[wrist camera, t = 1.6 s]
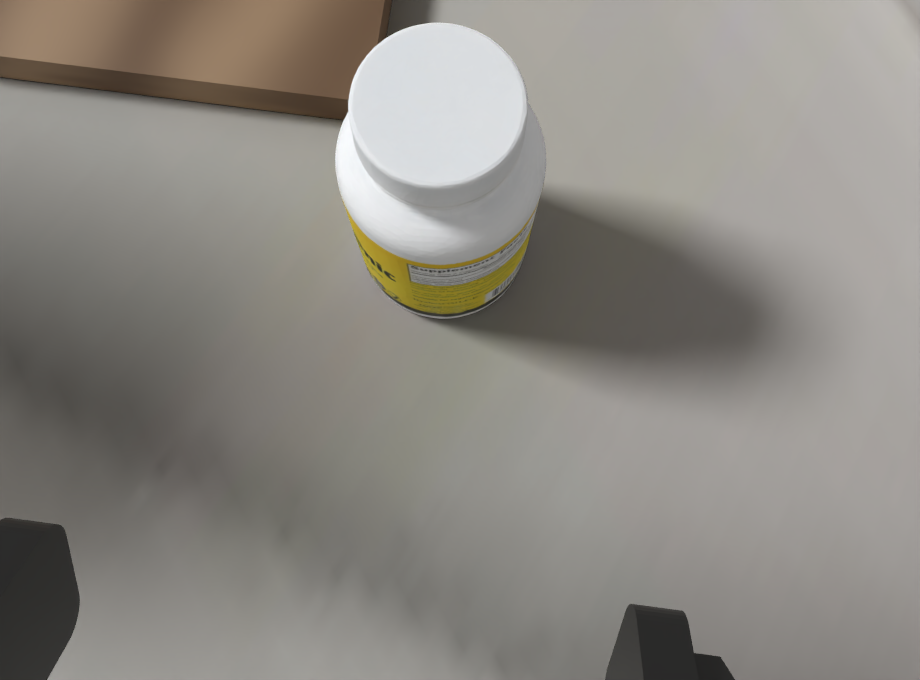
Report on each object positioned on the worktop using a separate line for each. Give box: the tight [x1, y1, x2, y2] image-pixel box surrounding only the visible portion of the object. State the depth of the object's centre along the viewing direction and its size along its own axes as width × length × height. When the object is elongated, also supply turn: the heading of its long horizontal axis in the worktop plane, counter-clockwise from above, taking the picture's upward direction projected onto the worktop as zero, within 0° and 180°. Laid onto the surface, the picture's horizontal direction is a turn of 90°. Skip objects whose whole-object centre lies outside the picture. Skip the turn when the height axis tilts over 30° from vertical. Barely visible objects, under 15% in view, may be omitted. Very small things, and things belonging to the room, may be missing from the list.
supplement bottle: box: [335, 23, 546, 319], centre depth 23 cm, size 5×5×10 cm
